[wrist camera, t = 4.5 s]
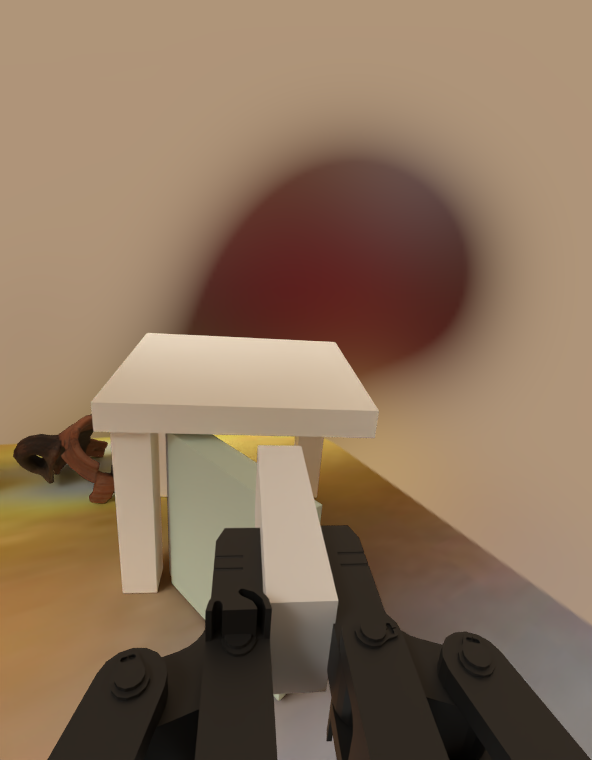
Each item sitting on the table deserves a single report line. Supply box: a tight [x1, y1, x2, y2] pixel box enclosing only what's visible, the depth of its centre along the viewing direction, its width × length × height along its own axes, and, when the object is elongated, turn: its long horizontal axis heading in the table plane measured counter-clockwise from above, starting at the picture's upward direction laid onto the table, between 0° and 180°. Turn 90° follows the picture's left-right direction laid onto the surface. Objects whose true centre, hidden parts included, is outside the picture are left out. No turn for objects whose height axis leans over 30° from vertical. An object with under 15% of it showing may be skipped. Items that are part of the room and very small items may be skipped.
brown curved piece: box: [13, 414, 115, 503], centre depth 45 cm, size 12×10×8 cm
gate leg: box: [165, 433, 322, 701], centre depth 29 cm, size 13×2×13 cm, turn 46°
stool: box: [91, 333, 379, 593], centre depth 38 cm, size 18×16×16 cm
